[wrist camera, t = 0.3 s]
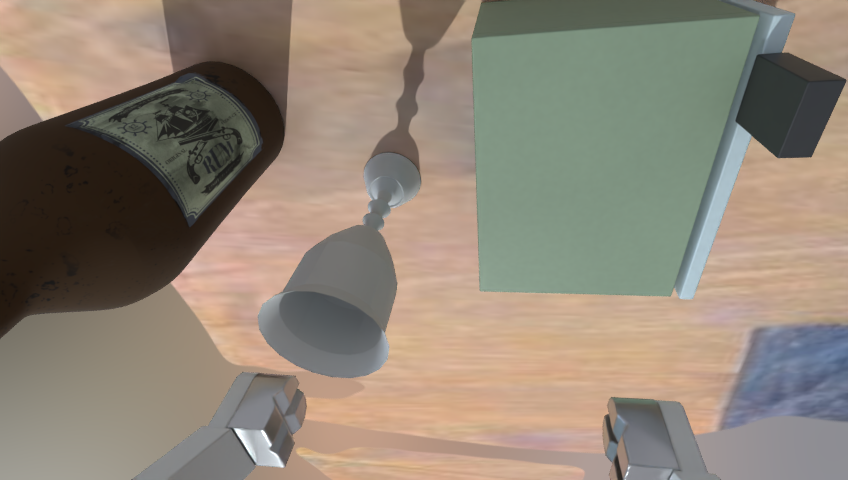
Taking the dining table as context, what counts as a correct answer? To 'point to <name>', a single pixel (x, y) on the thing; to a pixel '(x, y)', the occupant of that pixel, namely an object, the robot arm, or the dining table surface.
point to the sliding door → (761, 124)
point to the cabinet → (598, 137)
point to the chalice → (344, 286)
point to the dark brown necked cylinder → (127, 189)
